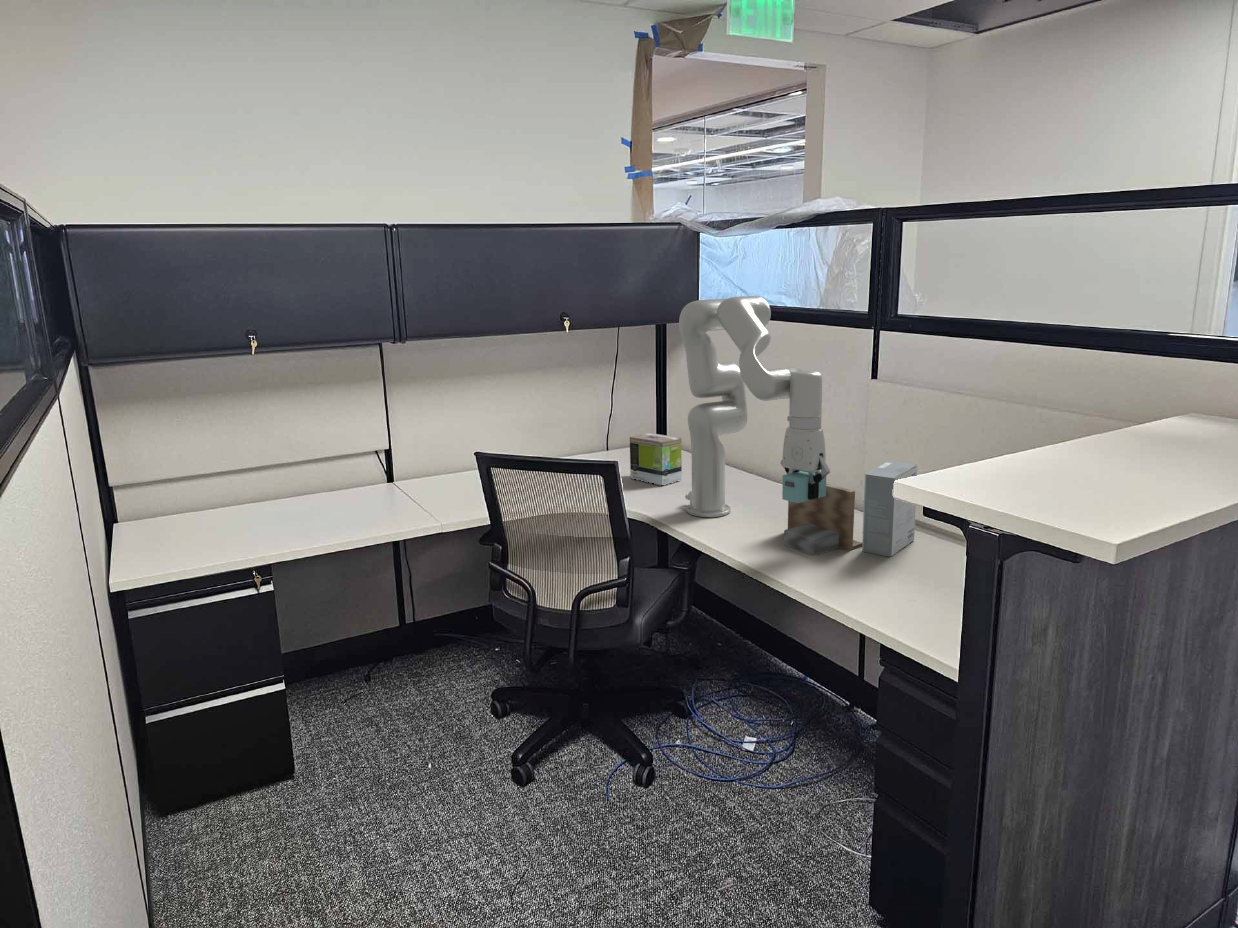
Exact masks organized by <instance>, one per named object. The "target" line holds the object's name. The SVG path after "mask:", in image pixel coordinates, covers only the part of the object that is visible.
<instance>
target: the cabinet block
mask: <svg viewBox="0 0 1238 928" xmlns="http://www.w3.org/2000/svg"><path fill="white" fill-rule="evenodd" d="M820 472H821V470H820ZM814 477H815V473H814ZM809 483H810V479H809V474H808V472H803V471H799V472H795V473H791V474H787V473H786V474H783V475H782V491H781V493H782V496H781V497H782V498H781V499H782V500H783V501H786V502H788V501H791V502H795V503H801V502H805V501H809V499H808V484H809ZM826 484H827V475H826V476H825V477H824V478H823V479H822V480H821V482H819V497H818V498H820V497H824V496H826Z"/></svg>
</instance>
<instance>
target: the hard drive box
mask: <svg viewBox="0 0 1238 928" xmlns="http://www.w3.org/2000/svg"><path fill="white" fill-rule="evenodd" d="M910 476H917V477H918V465H917V464H913V463H906V462H901V461H900V462H898V461H892V460H889V461H887V462H885V463H883V464H881V465H879V466H877V467H875V468H874V469H872V470H870V471H868V472H867V473H865V474H864V487H863V488H864V491H863V492H864V493H863V513H862V514H863V515H862V516H863V518H862V519H863V522H862V541H861V542H862V546H861V551H862V552H864V553H868V554H874V555H878V556H883V557H888V558H890V557H891V558H892V557H893V556H895V555H896V554H898V552H900V551H901V550H903V548H905V547H907V546H908V545H910V544H911V543H912V542H914V541H915V534H916V533H915V532H916V510H917V509H916V508H917V507H916V506H917V504H916V505H912V504H910V503H906V502H902V501H900V500H896V499H894V498H893V496H892V489H893V483H894V481H895V480H898V479H901V478H907V477H910Z"/></svg>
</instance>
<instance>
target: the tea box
mask: <svg viewBox="0 0 1238 928" xmlns="http://www.w3.org/2000/svg"><path fill="white" fill-rule="evenodd" d="M629 459H630V460H629V463H630V465H629V466H630V467H629V469H630V479H631V478H632V479H631V480H634V479H636V480H635V481H639V480H641V481H640V482H643V481H644V482H645V483H648V482H649V483H648V484H652V483H654V485H657V486H661V485H664V486H667V485H666V484H668V483H672V482H675V483H677V482H676V481H678V480H681V481H682V475H683V474H682V461H683V460H682V438H681V437H678V436H671V435H665V434H660V433H659V434H658V433H652V432H647V433H642V434H638V435H633V436H629ZM672 484H673V483H672ZM668 485H669V484H668Z"/></svg>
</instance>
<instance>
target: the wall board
mask: <svg viewBox="0 0 1238 928" xmlns="http://www.w3.org/2000/svg"><path fill="white" fill-rule="evenodd" d="M855 500H856V490H852V489H848V488H844V487H841V486H837V485H836V486H835V485H832V484H828V483H826V496H824V497H820V498H816V499H812V500H809V501H805V502H801V503H795V502H791V501H787V502H788V503H787V506H788V507H787V528H786V529H784V530H783V537H784V538H783V546H785V547H788V548H791V549H793V550H797V551H800V552H802V553H806V554H808V555H812V556H813V557H814V556H818V555H821V554H824V553H827V552H831V551H832V550H833V551H834V550H837V549H842V550H844V551H848V552H849V551H853V550H855V549H857V548H862V541H858V540H854V528H855V527H854V526H855V525H854V523H855V502H856V501H855Z"/></svg>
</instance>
